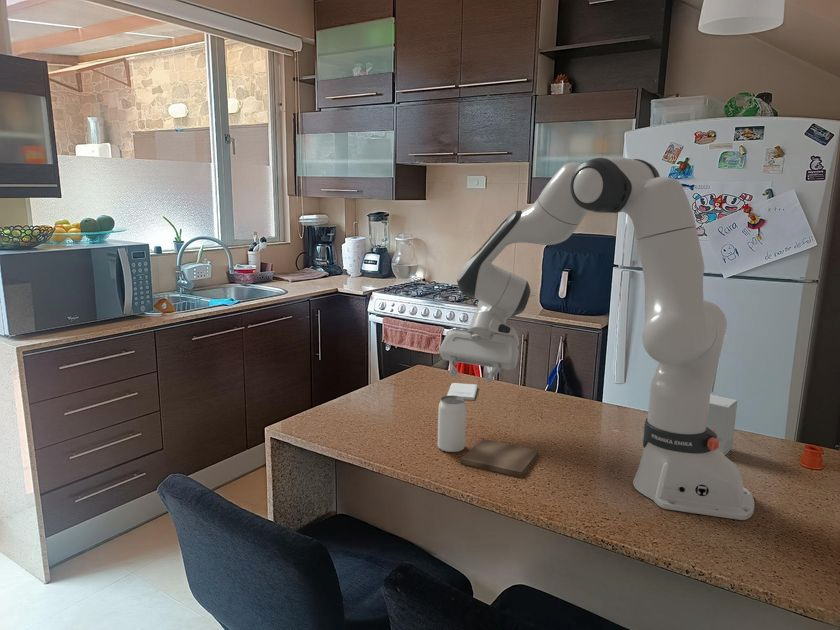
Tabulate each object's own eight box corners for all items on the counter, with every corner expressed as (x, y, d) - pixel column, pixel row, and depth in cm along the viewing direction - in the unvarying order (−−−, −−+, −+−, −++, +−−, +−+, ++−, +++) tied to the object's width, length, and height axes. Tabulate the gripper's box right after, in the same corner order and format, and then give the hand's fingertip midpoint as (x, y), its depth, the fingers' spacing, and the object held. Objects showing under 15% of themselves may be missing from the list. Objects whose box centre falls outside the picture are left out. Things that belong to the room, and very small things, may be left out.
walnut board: (538, 455, 140) (538, 450, 140) (521, 477, 129) (521, 472, 129) (482, 443, 147) (482, 438, 146) (460, 463, 135) (460, 458, 135)
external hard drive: (477, 389, 190) (474, 402, 178) (451, 387, 191) (446, 400, 179) (477, 384, 189) (474, 396, 177) (451, 382, 191) (446, 395, 179)
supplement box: (732, 449, 146) (739, 399, 143) (722, 459, 140) (729, 407, 138) (700, 441, 151) (706, 392, 148) (690, 449, 145) (695, 399, 143)
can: (469, 446, 145) (471, 398, 142) (456, 455, 139) (458, 405, 137) (446, 440, 148) (447, 393, 146) (432, 449, 143) (433, 400, 140)
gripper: (445, 320, 159) (428, 365, 152) (521, 329, 150) (505, 377, 143) (452, 333, 163) (435, 377, 157) (525, 343, 154) (511, 390, 148)
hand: (469, 377), depth 150 cm, fingers open, 8 cm apart
